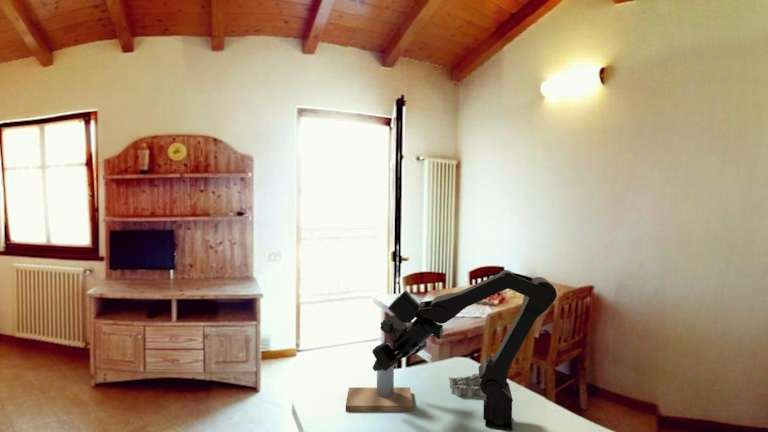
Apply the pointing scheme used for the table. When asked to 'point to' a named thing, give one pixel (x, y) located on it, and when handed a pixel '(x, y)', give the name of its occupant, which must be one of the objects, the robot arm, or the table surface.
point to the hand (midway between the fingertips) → (384, 363)
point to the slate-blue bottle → (385, 382)
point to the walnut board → (379, 400)
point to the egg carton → (462, 383)
